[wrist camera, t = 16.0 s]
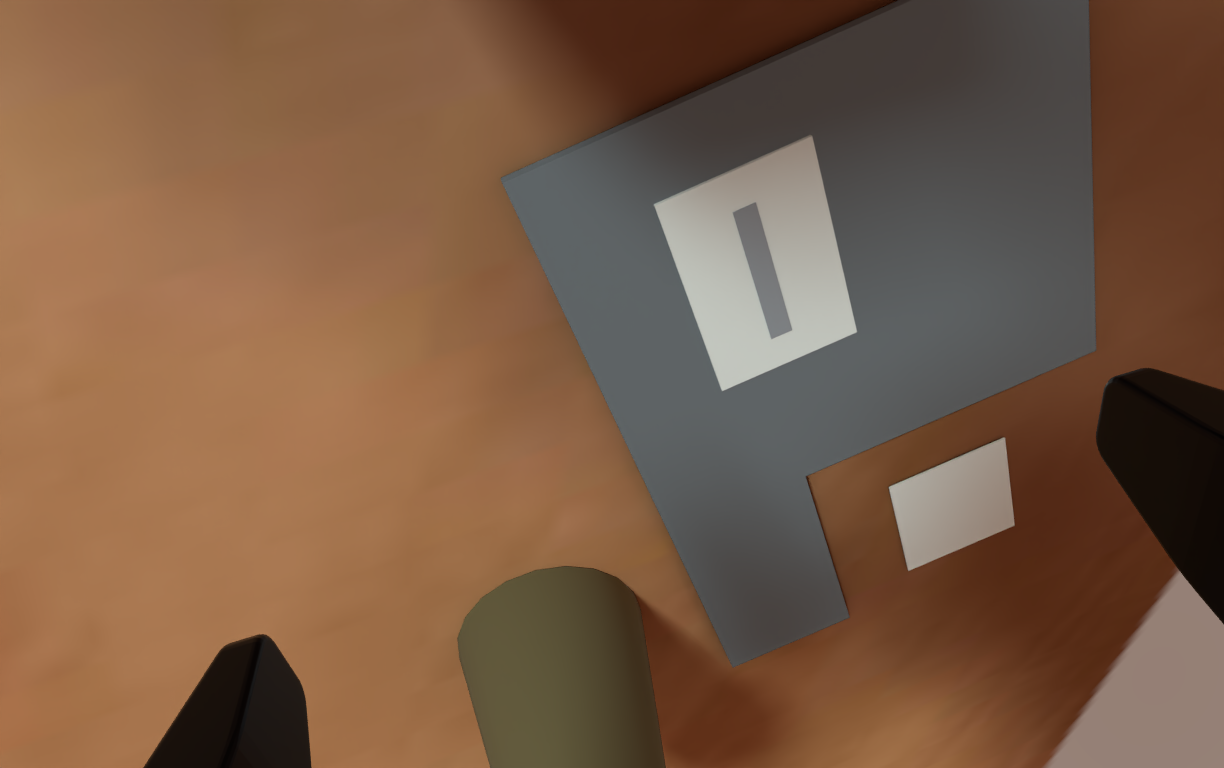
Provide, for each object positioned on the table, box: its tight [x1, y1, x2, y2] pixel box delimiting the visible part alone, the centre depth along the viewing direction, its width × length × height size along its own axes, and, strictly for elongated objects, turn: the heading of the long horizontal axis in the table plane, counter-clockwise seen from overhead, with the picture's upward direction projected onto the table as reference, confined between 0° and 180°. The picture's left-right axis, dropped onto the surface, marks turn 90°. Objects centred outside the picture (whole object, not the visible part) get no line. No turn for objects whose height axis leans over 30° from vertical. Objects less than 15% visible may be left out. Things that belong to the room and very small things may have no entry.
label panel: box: [501, 0, 1096, 667], centre depth 26 cm, size 20×14×1 cm
